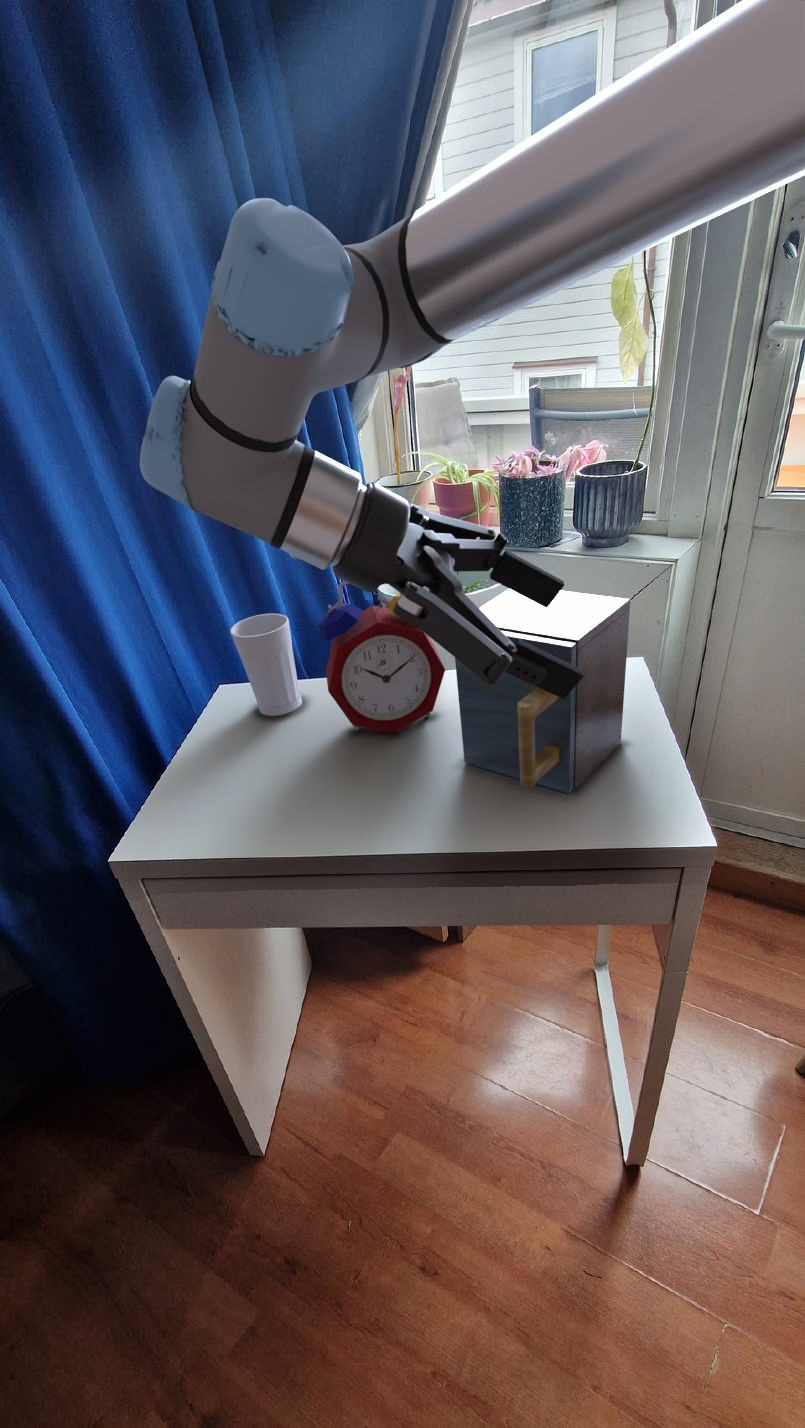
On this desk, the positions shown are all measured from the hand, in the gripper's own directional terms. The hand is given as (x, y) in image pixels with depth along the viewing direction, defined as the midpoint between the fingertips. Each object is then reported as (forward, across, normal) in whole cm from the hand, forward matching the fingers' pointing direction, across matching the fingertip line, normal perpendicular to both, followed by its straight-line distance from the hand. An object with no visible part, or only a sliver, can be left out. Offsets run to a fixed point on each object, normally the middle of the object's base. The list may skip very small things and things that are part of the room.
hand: (564, 637), depth 64 cm
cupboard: (+12, -8, -18) cm, 23 cm away
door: (+6, -1, -19) cm, 20 cm away
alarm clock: (-2, -19, -31) cm, 37 cm away
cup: (-15, -27, -42) cm, 52 cm away
